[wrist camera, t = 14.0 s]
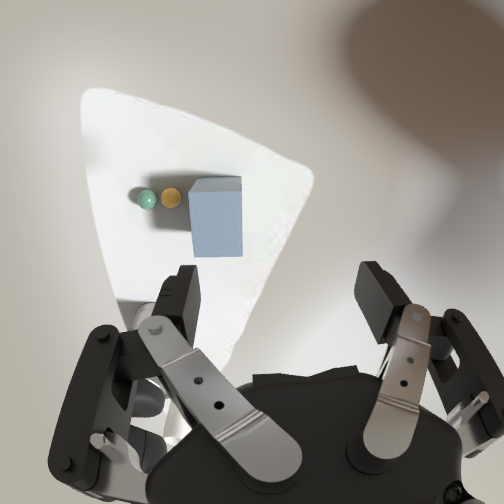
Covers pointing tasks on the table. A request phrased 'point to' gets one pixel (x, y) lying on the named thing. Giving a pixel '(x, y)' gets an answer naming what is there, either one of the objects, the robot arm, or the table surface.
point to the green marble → (146, 199)
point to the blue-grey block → (216, 217)
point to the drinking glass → (175, 426)
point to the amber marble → (170, 197)
